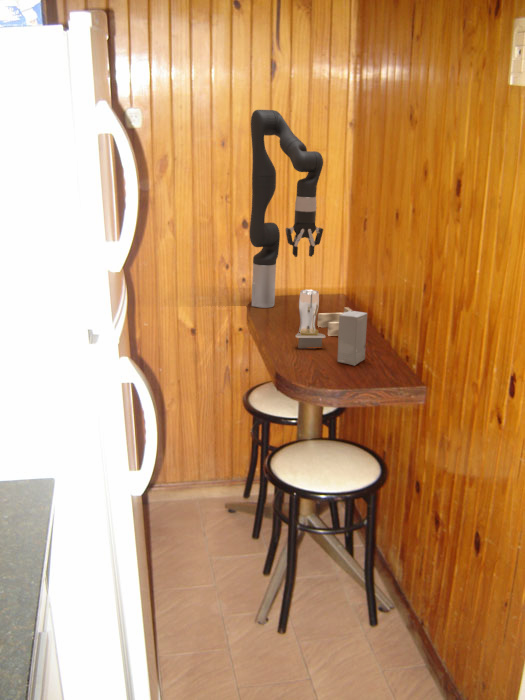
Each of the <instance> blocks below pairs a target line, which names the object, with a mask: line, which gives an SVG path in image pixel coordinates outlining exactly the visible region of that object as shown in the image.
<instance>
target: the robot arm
mask: <svg viewBox="0 0 525 700" xmlns="http://www.w3.org/2000/svg"><path fill="white" fill-rule="evenodd" d="M250 136H251V147H252V148H251V151H252V164H251V165H252V169H251V170H252V171H251V173H252V174H251V192H252V193H251V213H250V214H251V215H250V222H249V241H250V242H251V245H252V246H253V247H255V248H261V250H260V251H258V253H256V254H254V256H253V259H252V282H251V284H252V285H251V307H256V308H259V309H260V308H262V309H263V308H266V309H267V308H272V307H274V306H275V301H276V300H275V299H276V298H275V297H276V277H277V276H276V275H277V273H276V271H277V270H276V269H277V259H278V257H279V249H280V241H281V237H280V236H281V235H280V228H279V226H278V224H276V223H275V222H266V221H265V219H266V218H265V217H266V211H267V209H268V206H269V204H270V202H271V201H272V198H273V196H274V195H275V191H276V187H277V171H276V167H275V166H274V164H273V161H272V159H271V157H270V156H269V154H268V152H267V149H266V145H265V137H266V136H275V137H277V138H279V147H280V148H281V150H282V152H283V153H284V154H285V155H286V156H287V157H288V158H289V160H290V162H291V164H292V167H293V169H294V170H295V171H296V172H299V173H307V174H306V176H305V177H303V178H301V179H298V180H297V183H296V198H295V205H294V222H293V223H294V224H293V226H292V227H286V228H285V234H286V240H287V241H286V242H287V243H288V245H290V246H292V255H293V256H294V257H295V258H297V257H298V255H299V254H298V253H299V252H298V250H299V246H298V244H299V242H300V241H301V239H303V238H306V239H307V240H308V241H309V245H308V256H309V257H313V256H314V255H315V247H316V246H317V245H320V243H321V240H322V236H323V234H324V233H323V232H324V228H322V227H317V226H316V220H317V219H316V217H317V216H316V215H317V189H318V188H317V187H318V182H319V180H320V176H321V173H322V170H323V167H324V159H323V158H324V157H323V155H322V154H321V152H318V151H311V150H310V151H308V149H307V146H306V145H305V144H304V142H302V140H301V139H300V138H298V137H297V136H296V135H295V133H294V132H293V131H292V130H291V128H290V126H289V124H288V123H287V121H286V120H285V119H284V117H283V116H282V115H281V113H280V112H279V111H277V110H273V109H255V110H254V111H253V112H252V115H251V117H250ZM293 232H294V233H295V235H294V237H292V234H293ZM314 233H316V235H315V237H314V236H313V234H314ZM314 238H315V239H314Z"/></svg>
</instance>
